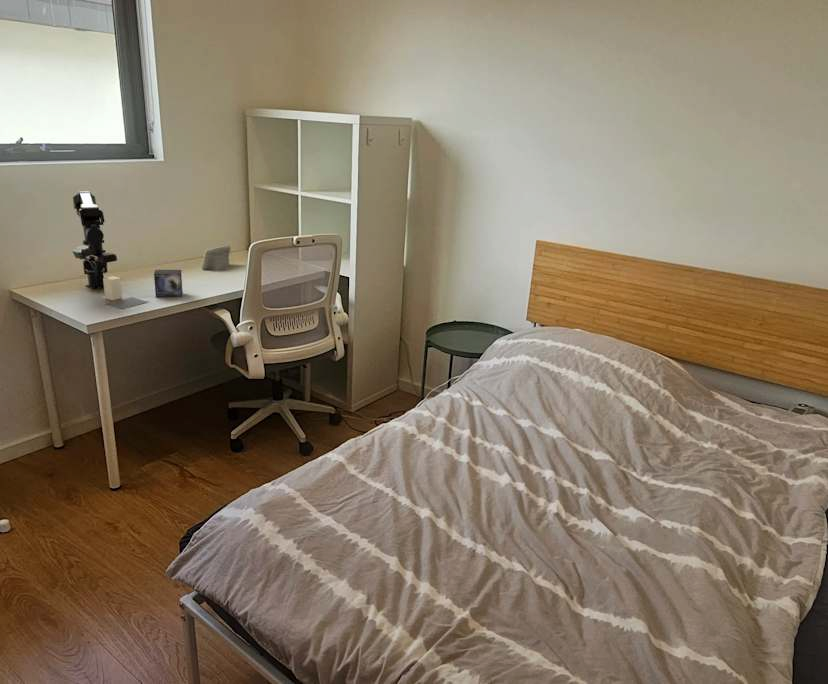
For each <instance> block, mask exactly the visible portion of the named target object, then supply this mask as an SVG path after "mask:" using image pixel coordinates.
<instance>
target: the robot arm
mask: <svg viewBox="0 0 828 684" xmlns="http://www.w3.org/2000/svg"><path fill="white" fill-rule="evenodd" d="M72 205H73V210H75V212H76V215H77V216H78V217H79V218H80V223H81V226H82V229H83V235H84V239H83V241H82V245H80V246H77V247H76V248H74V249H72V251H71V252H72V253H73V255H74V257H75V259H79V260H82V269H83V273H84V275H87V281H88V284H86V285H85V287H87V288H90V289H94V290H97V289H100V288H104V283H103V278H105V276H104V274H107V273H108V272H109V271H108V263H113V262H117V261H118V257H117V256H118V255H116V254H115V253H111V252H106V249H103V244H105V240H104V237H105V236H104V233H103V231H102V229H101V226H103V225H104V223H105V217H104V211H102V209H101V208H100V207H99V206H98V204H97V201H96V196H95V195H93V194H92V192H91V191H87V190H85V191H84V190H83V191H81V190H80V191H78V192H77V194H76V195H74V196H72Z"/></svg>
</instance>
